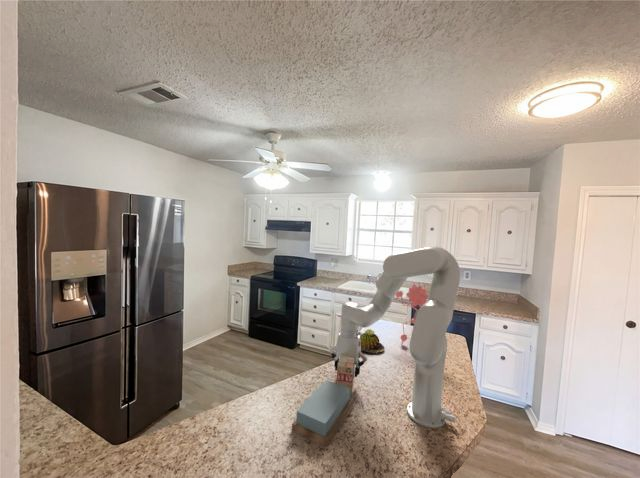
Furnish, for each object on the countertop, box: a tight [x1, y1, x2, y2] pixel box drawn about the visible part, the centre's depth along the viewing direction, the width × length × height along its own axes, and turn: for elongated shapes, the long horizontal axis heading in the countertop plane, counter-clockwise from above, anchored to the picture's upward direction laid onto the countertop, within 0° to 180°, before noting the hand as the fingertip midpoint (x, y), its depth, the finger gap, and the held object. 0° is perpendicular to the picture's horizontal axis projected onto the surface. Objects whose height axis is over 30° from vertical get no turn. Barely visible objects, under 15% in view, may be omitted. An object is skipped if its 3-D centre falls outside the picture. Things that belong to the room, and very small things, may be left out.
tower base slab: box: [291, 397, 355, 448], centre depth 90 cm, size 12×22×4 cm, turn 152°
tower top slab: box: [295, 379, 351, 437], centre depth 89 cm, size 10×20×4 cm, turn 152°
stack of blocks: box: [335, 355, 356, 398], centre depth 113 cm, size 21×6×12 cm, turn 169°
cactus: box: [359, 328, 385, 354], centre depth 147 cm, size 17×16×10 cm
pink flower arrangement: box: [395, 284, 429, 346], centre depth 152 cm, size 15×26×35 cm, turn 44°
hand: (346, 372), depth 113 cm, fingers open, 8 cm apart
